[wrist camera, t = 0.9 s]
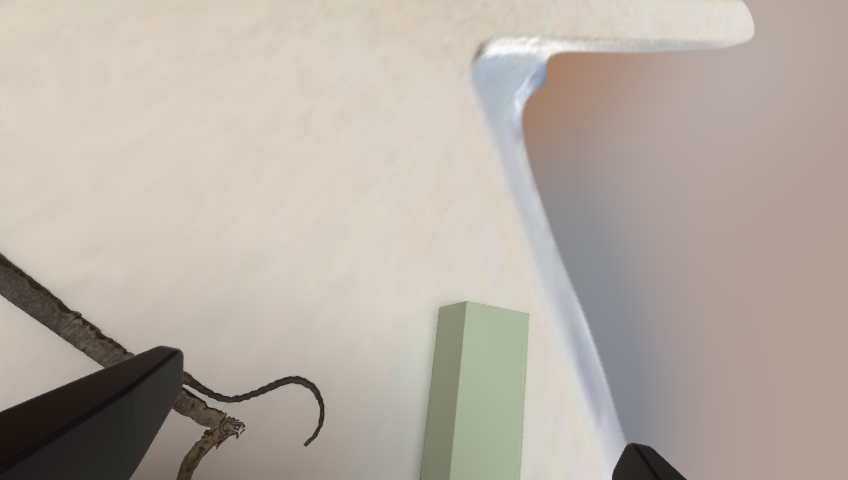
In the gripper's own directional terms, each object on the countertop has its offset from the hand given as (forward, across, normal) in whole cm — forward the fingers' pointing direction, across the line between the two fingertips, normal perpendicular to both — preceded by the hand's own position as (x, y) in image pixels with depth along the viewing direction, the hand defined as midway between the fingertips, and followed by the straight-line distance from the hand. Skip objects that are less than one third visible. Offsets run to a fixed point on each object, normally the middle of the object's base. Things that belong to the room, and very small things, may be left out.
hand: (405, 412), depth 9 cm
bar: (+12, -4, +15) cm, 20 cm away
